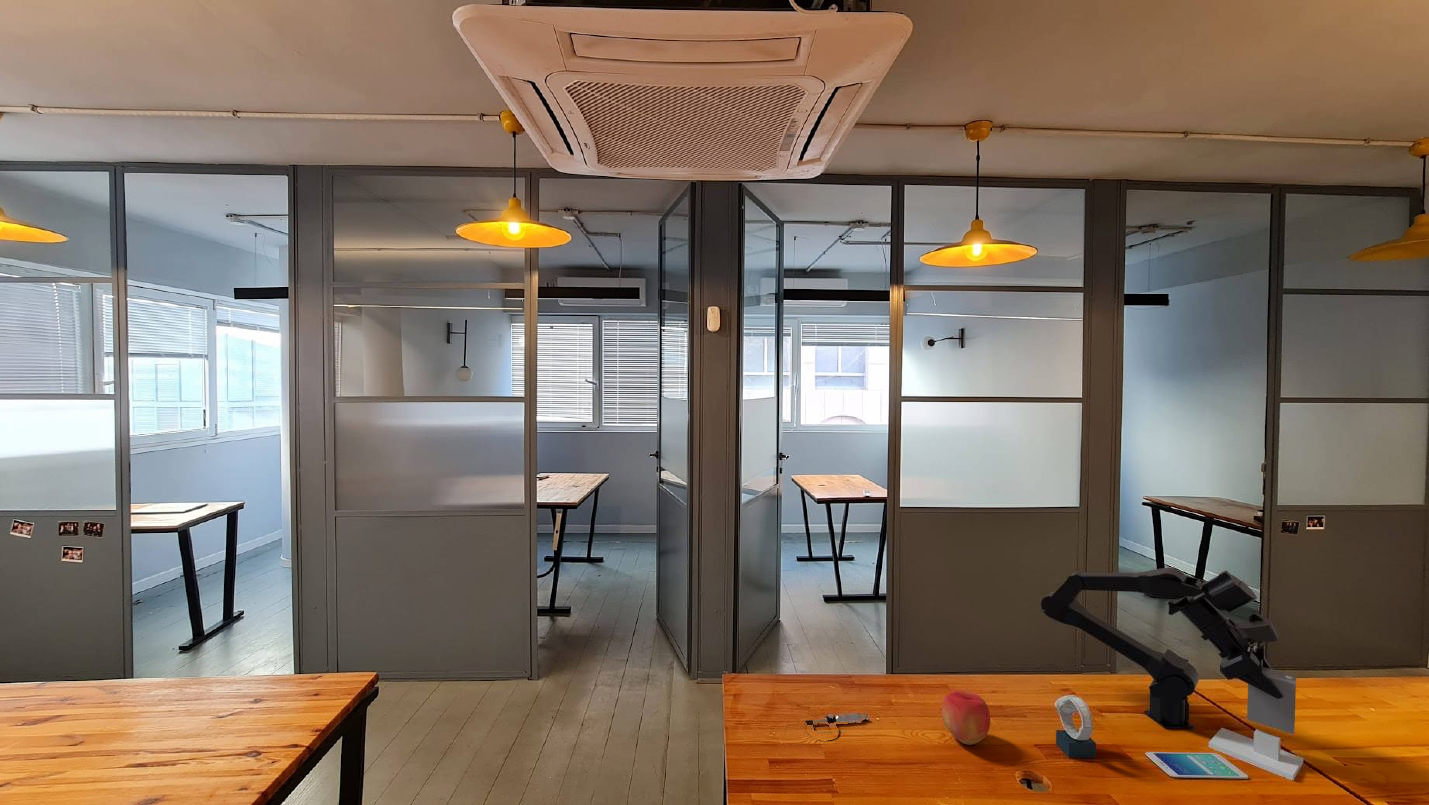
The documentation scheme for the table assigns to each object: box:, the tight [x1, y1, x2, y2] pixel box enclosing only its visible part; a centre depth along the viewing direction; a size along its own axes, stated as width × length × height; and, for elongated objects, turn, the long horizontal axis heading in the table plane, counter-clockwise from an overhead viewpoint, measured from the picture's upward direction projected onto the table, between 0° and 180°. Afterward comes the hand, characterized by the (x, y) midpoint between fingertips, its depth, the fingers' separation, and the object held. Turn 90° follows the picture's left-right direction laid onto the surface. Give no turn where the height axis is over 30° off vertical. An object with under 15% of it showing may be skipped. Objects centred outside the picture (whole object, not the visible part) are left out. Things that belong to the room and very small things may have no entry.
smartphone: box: [1144, 751, 1249, 781], centre depth 112 cm, size 8×1×15 cm
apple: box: [941, 689, 991, 746], centre depth 121 cm, size 10×10×10 cm
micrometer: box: [804, 712, 870, 730], centre depth 124 cm, size 15×7×3 cm, turn 98°
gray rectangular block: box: [1246, 667, 1297, 735], centre depth 115 cm, size 7×5×10 cm
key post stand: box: [1208, 727, 1304, 781], centre depth 116 cm, size 12×9×5 cm
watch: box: [1054, 694, 1097, 759], centre depth 117 cm, size 6×8×11 cm
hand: (1281, 692), depth 114 cm, fingers closed on gray rectangular block, 5 cm apart
